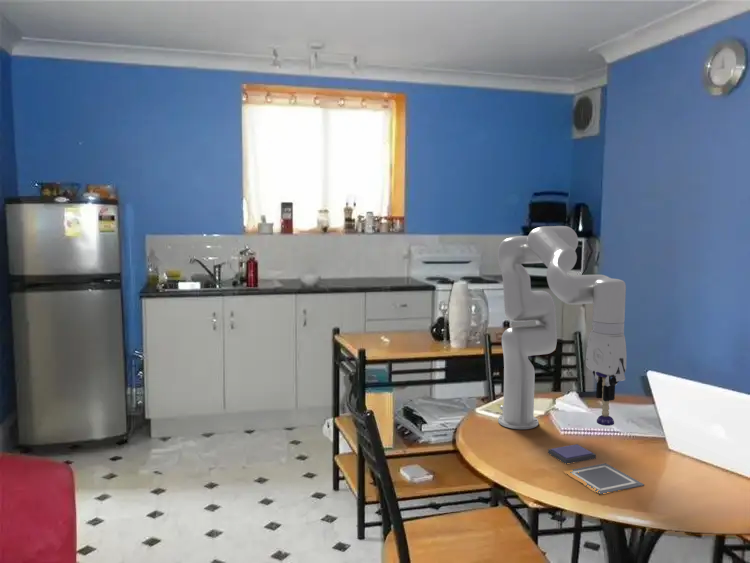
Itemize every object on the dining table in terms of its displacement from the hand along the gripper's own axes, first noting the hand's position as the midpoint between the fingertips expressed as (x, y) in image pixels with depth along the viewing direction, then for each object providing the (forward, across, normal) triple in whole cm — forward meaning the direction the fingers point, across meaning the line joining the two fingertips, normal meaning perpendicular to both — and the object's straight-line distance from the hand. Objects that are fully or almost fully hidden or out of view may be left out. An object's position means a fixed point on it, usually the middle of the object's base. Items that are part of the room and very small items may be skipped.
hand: (605, 398), depth 164 cm
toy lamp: (+7, 0, 0) cm, 7 cm away
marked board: (+21, 0, 0) cm, 21 cm away
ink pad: (+21, -15, +2) cm, 26 cm away
